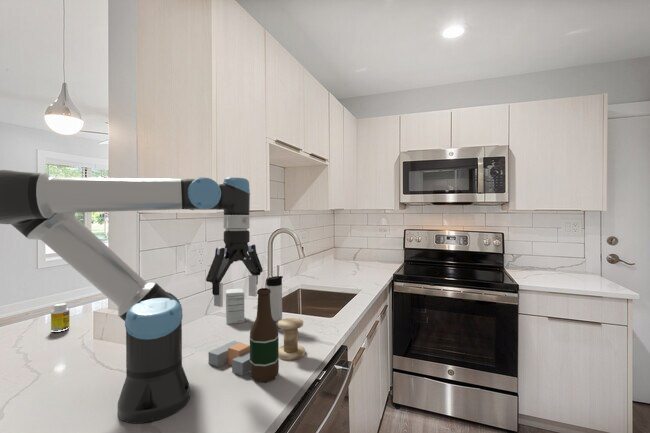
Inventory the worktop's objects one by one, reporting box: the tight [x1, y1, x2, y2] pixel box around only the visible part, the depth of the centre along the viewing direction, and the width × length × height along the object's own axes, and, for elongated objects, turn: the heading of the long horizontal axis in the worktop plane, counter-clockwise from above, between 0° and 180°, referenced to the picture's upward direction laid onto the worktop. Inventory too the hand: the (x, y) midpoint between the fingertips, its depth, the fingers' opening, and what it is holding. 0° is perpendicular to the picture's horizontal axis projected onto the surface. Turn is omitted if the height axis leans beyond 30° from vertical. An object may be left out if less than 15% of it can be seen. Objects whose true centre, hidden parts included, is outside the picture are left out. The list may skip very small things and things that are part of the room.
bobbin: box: [278, 317, 306, 361], centre depth 103 cm, size 9×9×10 cm
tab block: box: [227, 342, 250, 366], centre depth 97 cm, size 4×4×5 cm
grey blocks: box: [208, 340, 250, 376], centre depth 97 cm, size 10×14×4 cm
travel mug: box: [265, 275, 284, 329], centre depth 129 cm, size 6×7×20 cm
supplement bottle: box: [50, 302, 70, 331], centre depth 125 cm, size 6×6×10 cm
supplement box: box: [225, 288, 246, 325], centre depth 136 cm, size 7×7×13 cm
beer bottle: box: [249, 287, 280, 384], centre depth 89 cm, size 8×8×24 cm
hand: (236, 300), depth 97 cm, fingers open, 13 cm apart
